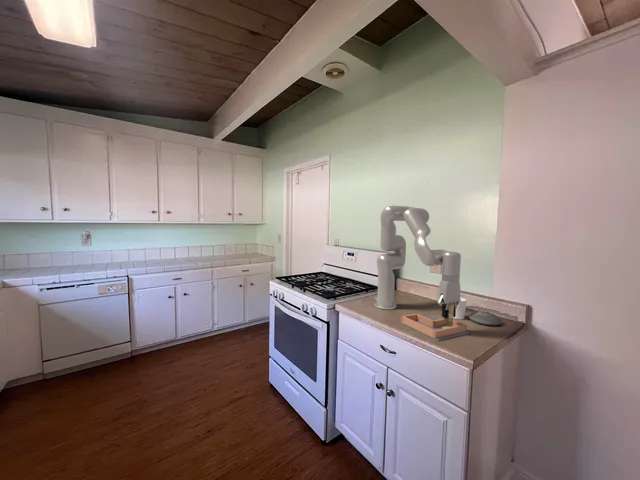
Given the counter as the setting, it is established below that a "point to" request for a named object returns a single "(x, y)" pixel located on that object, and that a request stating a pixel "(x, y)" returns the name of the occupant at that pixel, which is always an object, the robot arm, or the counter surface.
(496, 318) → the flying saucer
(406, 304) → the counter surface
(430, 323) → the track
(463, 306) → the white cup
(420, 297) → the counter surface
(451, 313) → the peg
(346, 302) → the counter surface
